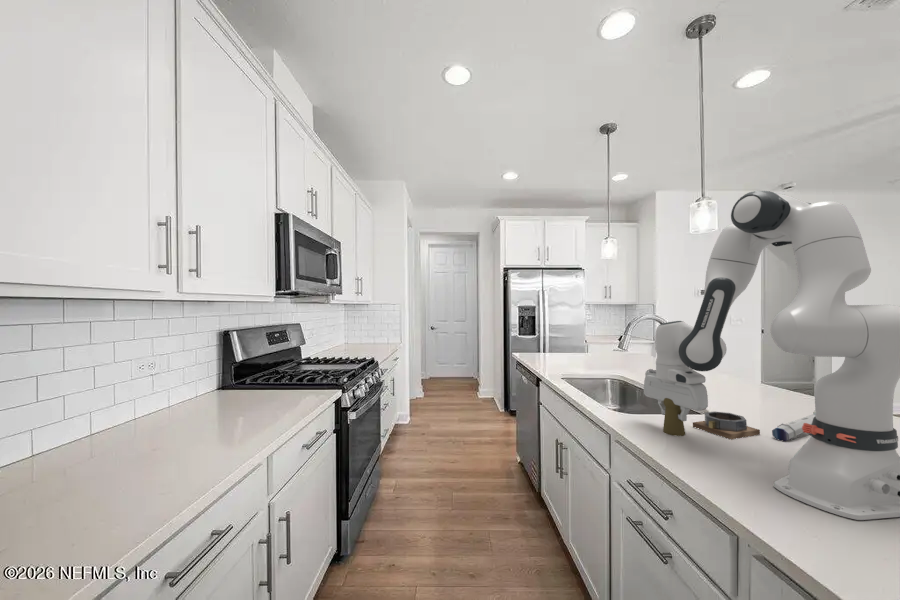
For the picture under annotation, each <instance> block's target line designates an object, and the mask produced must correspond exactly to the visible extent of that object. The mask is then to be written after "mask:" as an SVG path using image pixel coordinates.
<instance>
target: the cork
mask: <svg viewBox="0 0 900 600" xmlns="http://www.w3.org/2000/svg"><path fill="white" fill-rule="evenodd" d="M664 406H665V407H666V409H665V415H664V419H663V427H662V428H663V429H662V432H663V433H664V434H665V435H668V436H675V437H684V436H686V429H685V424H684V421H681V420H678V414H681V412H682V410H681V407H680V406H678V405H675V404H674V402H673V401H672V400H671V399H669V398H665V399H664Z"/></svg>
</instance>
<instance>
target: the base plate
mask: <svg viewBox="0 0 900 600" xmlns="http://www.w3.org/2000/svg"><path fill="white" fill-rule="evenodd" d="M694 427H696V428H695V429H697V428H699V429H698V430H700V429H702V430H701V431H703V430H705V431H704V432H706V431H707V432H706V433H709V432H710V434H712V433H713V435H715V434H716V436H718V435H719V437H721V436H722V438H724V437H725V438H724V439H727V438H728V440H730V439H731V440H737V439H743V438H748V436H750V437H754V435H756V436H760V435H761V434H760V433H761V429H758V428H755V427H752V426H748V425H747V430H745V431H739V432H734V431H725V430H719V429H715V428H714V429H712V428H709V426H707V425H706V423H705V420H699V421H694V422H692V428H694ZM742 437H743V438H742ZM736 438H737V439H736Z"/></svg>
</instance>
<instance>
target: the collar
mask: <svg viewBox="0 0 900 600" xmlns="http://www.w3.org/2000/svg"><path fill="white" fill-rule="evenodd" d="M704 421H705V423H706V425H707V426H709V428H712V429H714V428H715V429H719V430H725V431H734V432H739V431H745V430H747V426H748V425H747V419H746V418H745V417H744V416H743V415H739V414H736V413H731V412H725V411H709V412H708V411H707V412H704Z"/></svg>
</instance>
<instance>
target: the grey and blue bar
mask: <svg viewBox="0 0 900 600" xmlns="http://www.w3.org/2000/svg"><path fill="white" fill-rule="evenodd" d="M814 417H815V410H813V412H812V414H810V415H807V416H805V417H801V418H799V419H796V420H793V421H790V422H787V423H783V422H782V423H781V424H779V425H777V427H775V428H774V429H772V430H771V433H772V434H771V435H772V437H773V438H774V439H775V438H776V439H775V440H777V439H779V440H778V441H781V440H783V441H782V442H786V441H789V440H791V439H792V440H794V439H796V438H797V436H799V435H801V434H803V433H804V432H803V430H802V426H803V424H804V423H808V424H810V425H811V423H812V421H813V418H814Z"/></svg>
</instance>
